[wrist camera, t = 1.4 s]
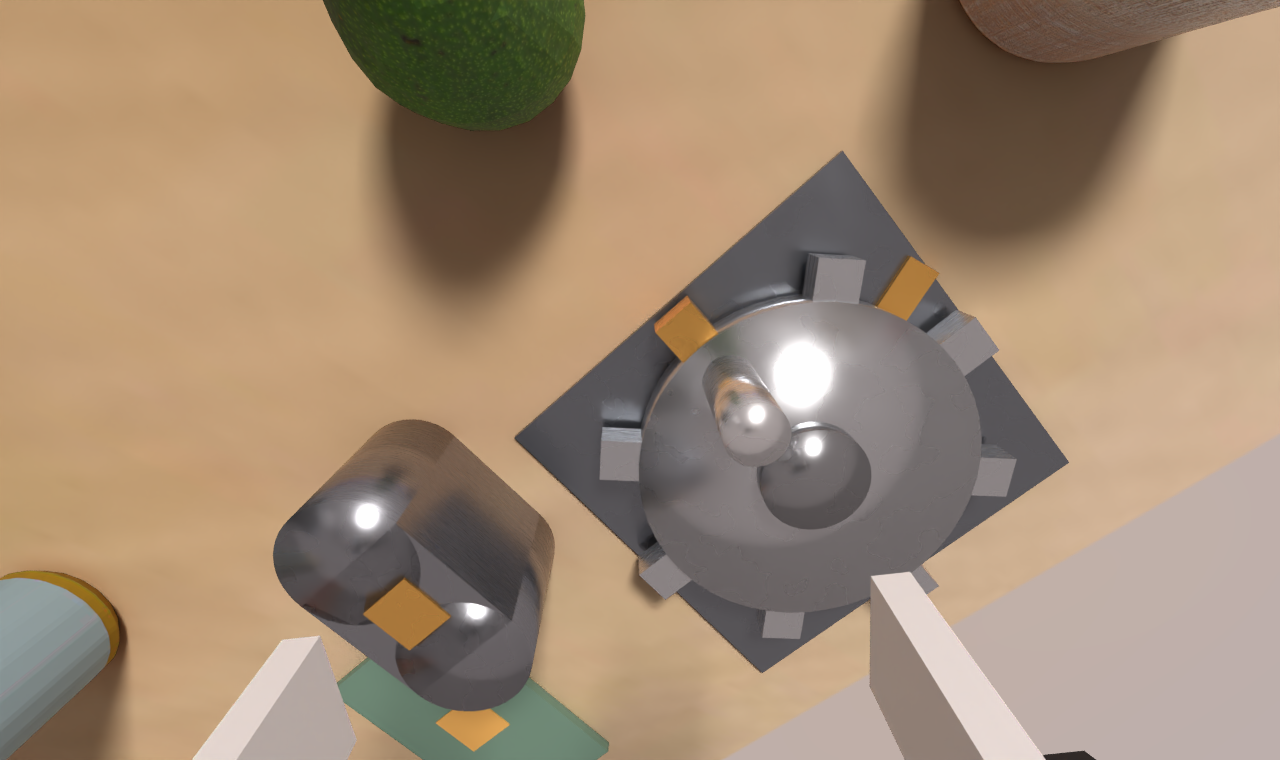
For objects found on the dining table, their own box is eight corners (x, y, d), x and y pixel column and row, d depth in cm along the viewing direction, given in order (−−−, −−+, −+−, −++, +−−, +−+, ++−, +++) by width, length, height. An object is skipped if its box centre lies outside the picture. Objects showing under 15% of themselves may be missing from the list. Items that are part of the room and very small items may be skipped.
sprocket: (519, 440, 29) (481, 531, 22) (843, 157, 26) (935, 147, 18) (764, 673, 34) (803, 813, 27) (1067, 464, 30) (1214, 559, 23)
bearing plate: (515, 436, 30) (513, 440, 29) (844, 148, 26) (848, 147, 25) (761, 670, 35) (763, 677, 34) (1069, 458, 31) (1076, 462, 30)
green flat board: (335, 684, 35) (329, 694, 34) (435, 601, 33) (431, 609, 32) (509, 811, 38) (507, 822, 37) (608, 742, 36) (608, 752, 36)
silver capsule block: (339, 466, 30) (241, 564, 23) (412, 397, 29) (335, 475, 21) (503, 605, 33) (466, 734, 25) (576, 547, 32) (559, 663, 24)
